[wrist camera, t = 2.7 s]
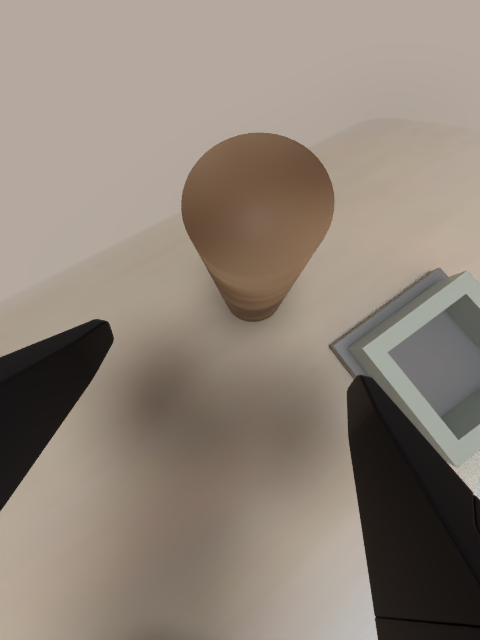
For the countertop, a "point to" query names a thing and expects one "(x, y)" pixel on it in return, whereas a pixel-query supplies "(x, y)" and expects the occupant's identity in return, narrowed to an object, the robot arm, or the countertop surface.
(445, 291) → the dock
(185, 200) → the walnut plug
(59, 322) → the countertop surface
